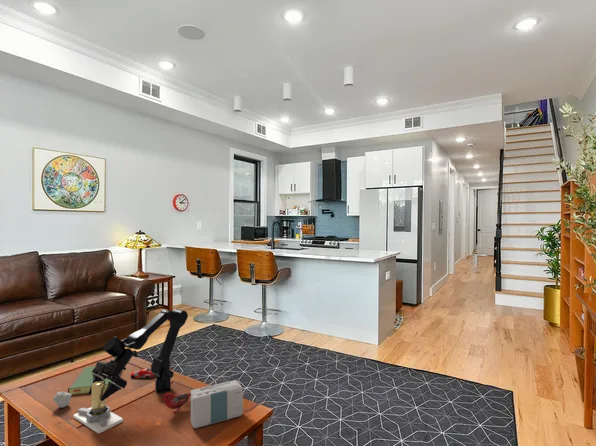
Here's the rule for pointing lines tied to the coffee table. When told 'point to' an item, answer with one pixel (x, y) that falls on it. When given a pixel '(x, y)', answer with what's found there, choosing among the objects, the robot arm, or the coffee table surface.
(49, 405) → the coffee table surface
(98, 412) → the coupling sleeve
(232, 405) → the stereo radio cassette player
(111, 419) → the coupling stand
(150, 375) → the race car
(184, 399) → the decorative bird figurine
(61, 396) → the grey rounded lump
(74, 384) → the hardcover book
